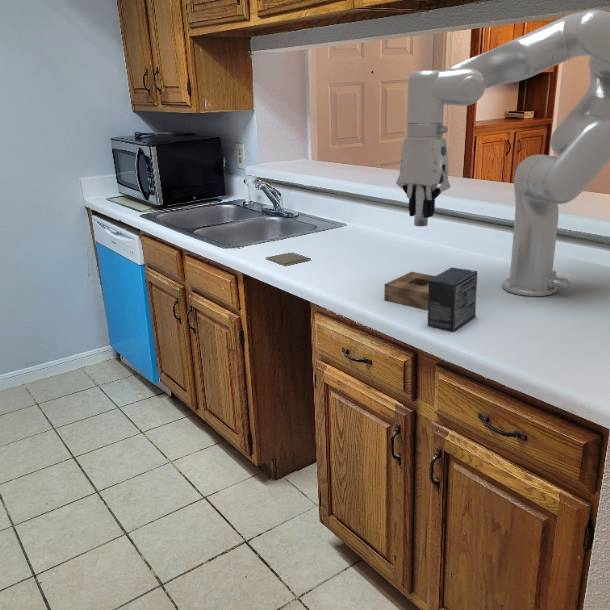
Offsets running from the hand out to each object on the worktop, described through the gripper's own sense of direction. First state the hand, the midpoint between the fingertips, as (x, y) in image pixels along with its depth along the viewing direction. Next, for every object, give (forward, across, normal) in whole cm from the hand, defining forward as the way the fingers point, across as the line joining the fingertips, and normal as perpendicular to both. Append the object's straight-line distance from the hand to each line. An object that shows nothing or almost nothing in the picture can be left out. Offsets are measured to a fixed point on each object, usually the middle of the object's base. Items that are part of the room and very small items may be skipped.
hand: (421, 215), depth 136 cm
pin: (+2, 0, 0) cm, 2 cm away
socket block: (+20, 0, 0) cm, 20 cm away
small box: (+20, -13, +9) cm, 26 cm away
